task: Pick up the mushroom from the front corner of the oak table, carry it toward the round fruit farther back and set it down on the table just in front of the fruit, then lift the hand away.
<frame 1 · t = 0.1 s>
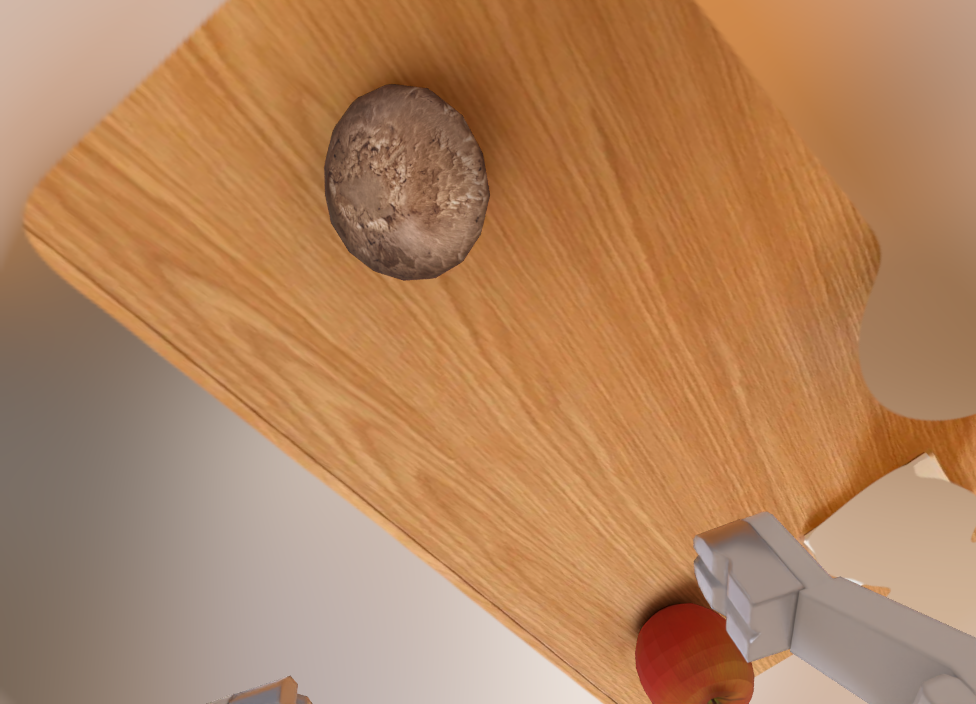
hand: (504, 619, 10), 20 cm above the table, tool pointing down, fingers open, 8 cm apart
fruit: (667, 618, 49), on the table
mushroom: (399, 176, 25), on the table
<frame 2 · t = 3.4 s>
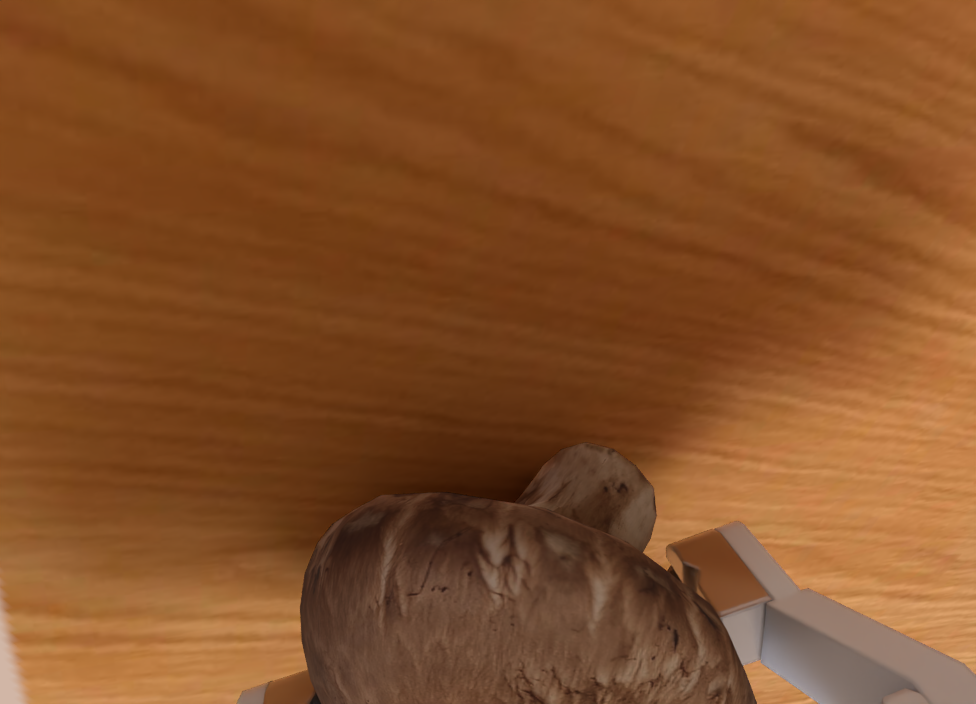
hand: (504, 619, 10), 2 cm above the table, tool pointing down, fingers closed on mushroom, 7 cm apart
mushroom: (480, 521, 12), on the table, touching gripper
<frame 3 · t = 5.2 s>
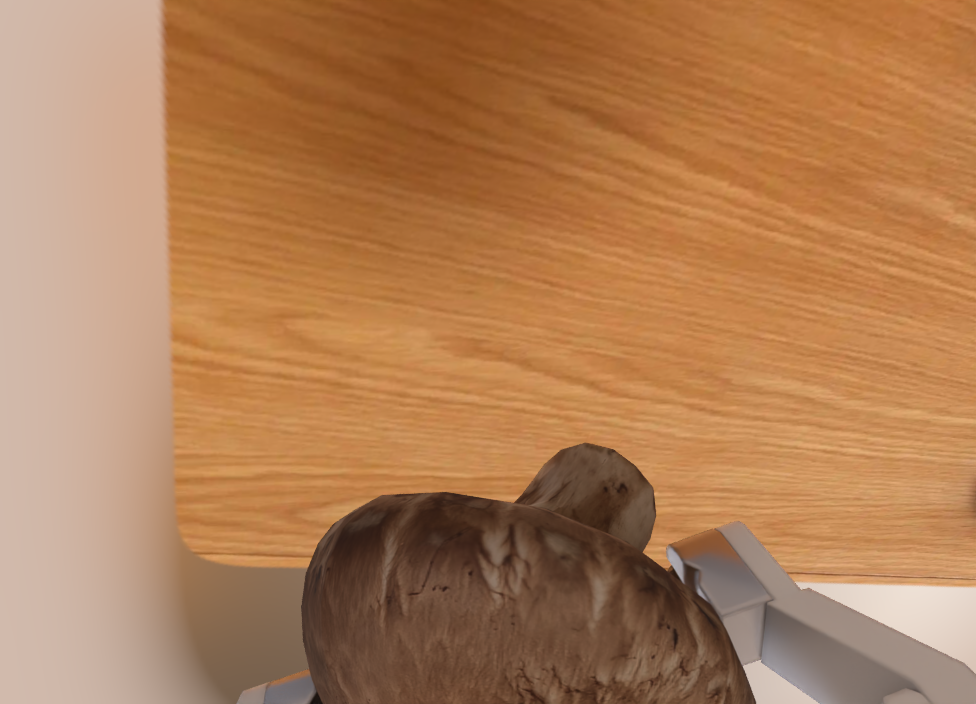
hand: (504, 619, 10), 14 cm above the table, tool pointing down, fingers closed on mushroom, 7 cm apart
mushroom: (480, 521, 12), point 12 cm above the table, touching gripper
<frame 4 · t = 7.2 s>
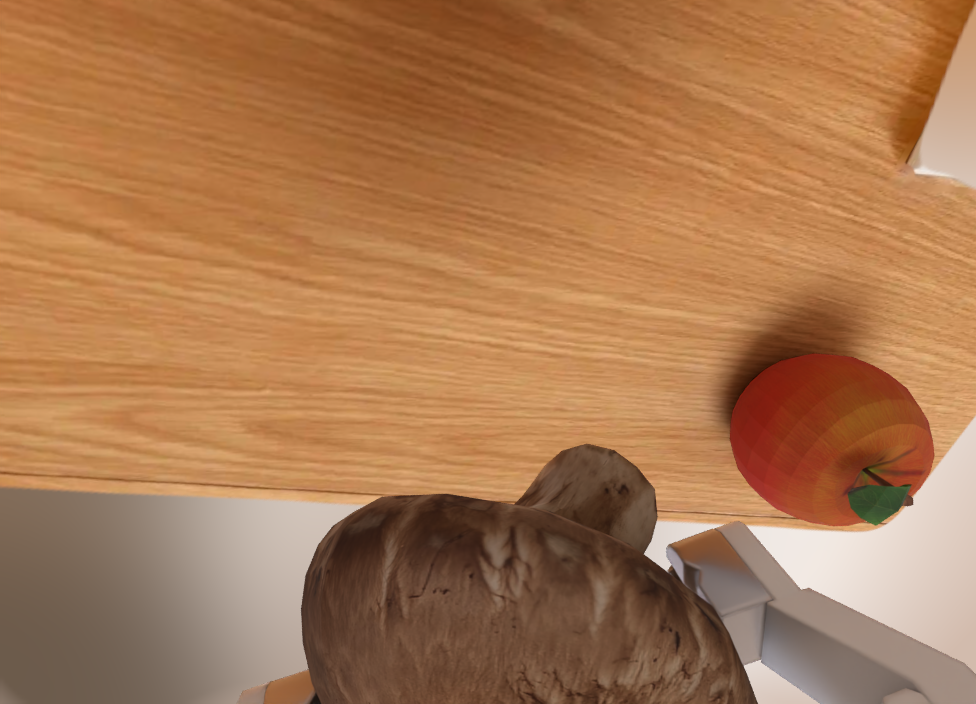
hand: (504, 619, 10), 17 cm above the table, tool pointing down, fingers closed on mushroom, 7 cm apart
fruit: (770, 395, 33), on the table
mushroom: (481, 522, 12), point 15 cm above the table, touching gripper
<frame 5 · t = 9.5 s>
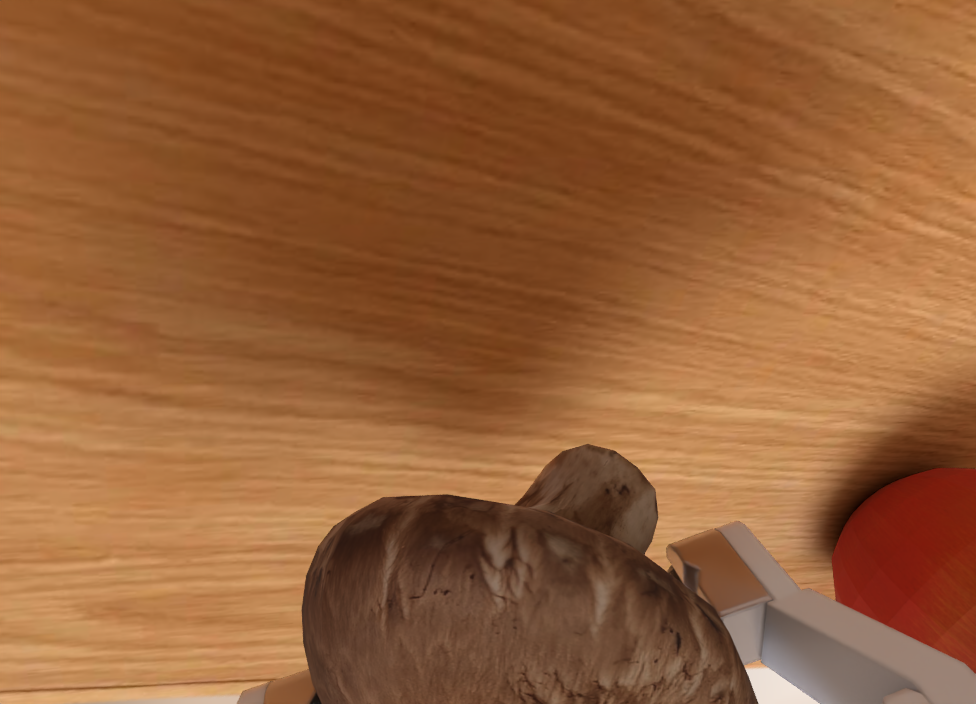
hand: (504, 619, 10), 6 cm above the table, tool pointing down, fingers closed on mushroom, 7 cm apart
fruit: (884, 512, 23), on the table
mushroom: (481, 523, 12), point 4 cm above the table, touching gripper
when the fingers open (2 cm above the table, at t = 11.1 s): mushroom stays where it is, on the table.
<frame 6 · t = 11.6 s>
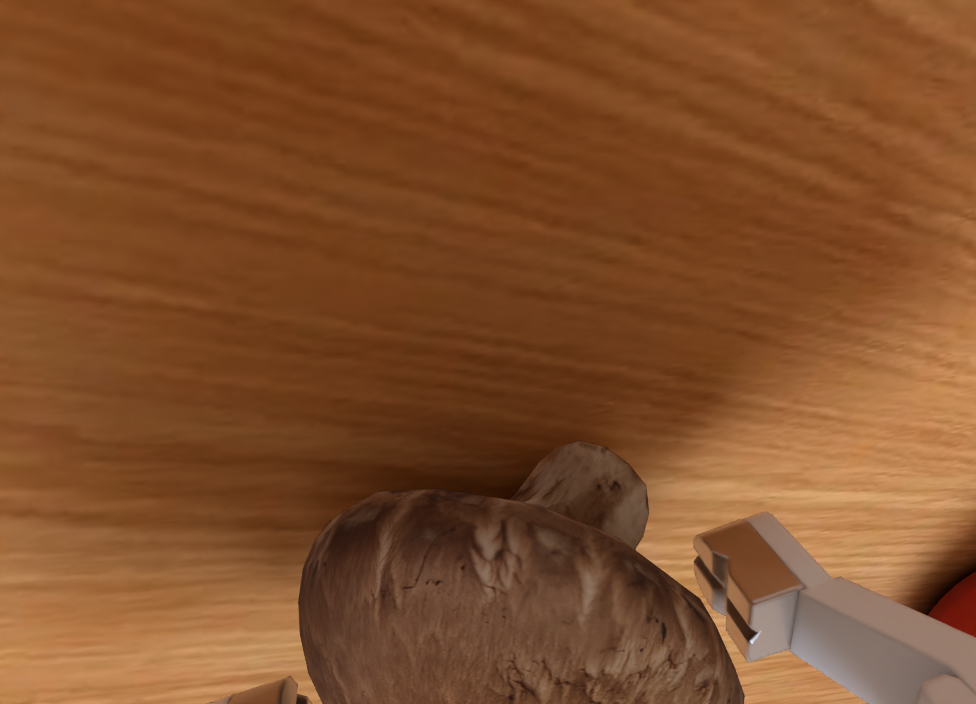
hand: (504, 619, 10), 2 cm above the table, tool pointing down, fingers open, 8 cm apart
fruit: (973, 591, 20), on the table
mushroom: (476, 518, 12), on the table
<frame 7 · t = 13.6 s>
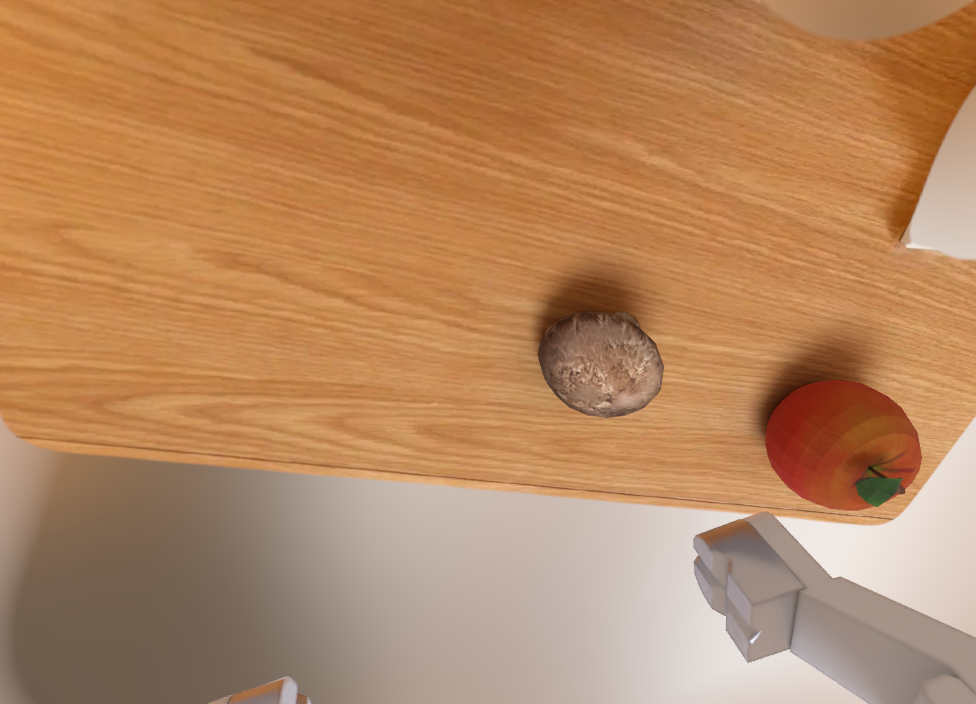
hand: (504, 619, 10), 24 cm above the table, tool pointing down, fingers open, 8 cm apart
fruit: (797, 411, 43), on the table
mushroom: (581, 343, 36), on the table
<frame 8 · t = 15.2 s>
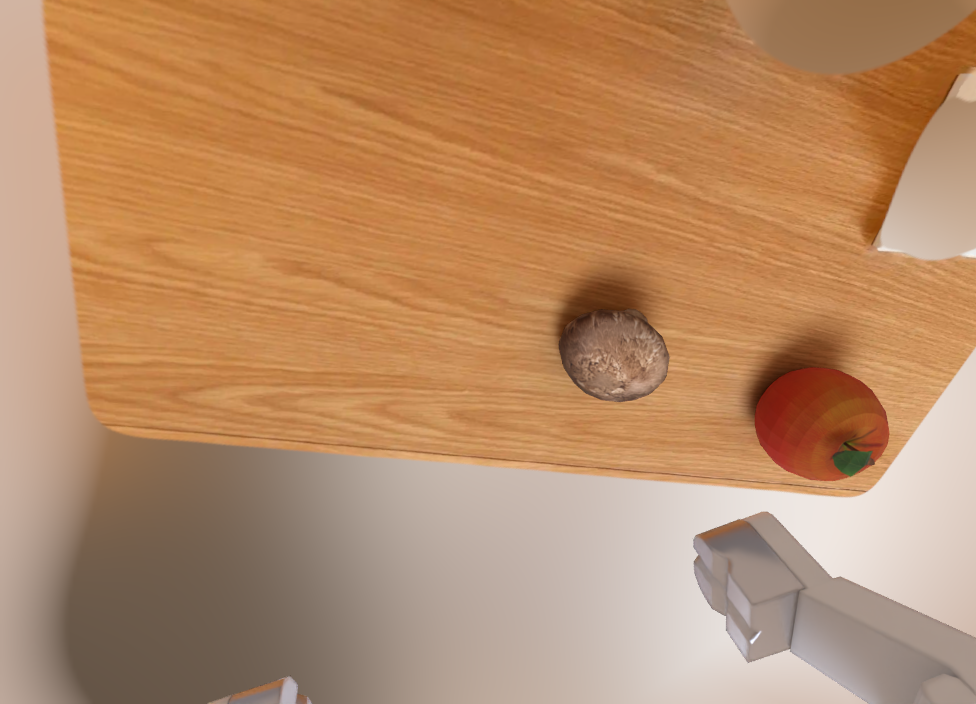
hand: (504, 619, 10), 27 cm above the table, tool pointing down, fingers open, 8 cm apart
fruit: (782, 395, 48), on the table
mushroom: (595, 337, 41), on the table
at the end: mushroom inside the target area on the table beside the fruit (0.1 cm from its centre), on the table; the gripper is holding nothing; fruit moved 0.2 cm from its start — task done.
